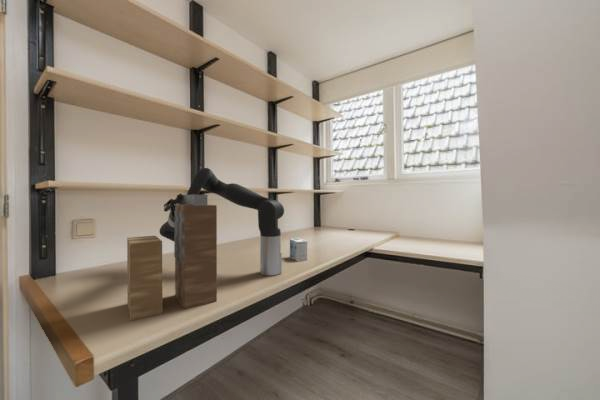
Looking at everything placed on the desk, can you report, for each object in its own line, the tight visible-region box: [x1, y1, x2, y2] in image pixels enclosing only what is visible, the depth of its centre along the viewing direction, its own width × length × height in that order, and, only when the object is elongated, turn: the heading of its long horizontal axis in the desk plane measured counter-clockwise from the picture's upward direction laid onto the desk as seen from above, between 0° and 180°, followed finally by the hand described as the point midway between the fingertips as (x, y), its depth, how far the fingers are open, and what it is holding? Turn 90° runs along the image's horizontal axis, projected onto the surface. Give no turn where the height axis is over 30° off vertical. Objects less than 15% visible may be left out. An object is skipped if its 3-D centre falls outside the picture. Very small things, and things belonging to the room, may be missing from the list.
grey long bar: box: [179, 194, 208, 206], centre depth 91 cm, size 22×4×4 cm, turn 37°
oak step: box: [126, 235, 163, 321], centre depth 80 cm, size 14×8×22 cm, turn 37°
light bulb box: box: [289, 237, 308, 261], centre depth 146 cm, size 11×7×11 cm, turn 24°
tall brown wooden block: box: [173, 204, 218, 310], centre depth 88 cm, size 14×11×32 cm
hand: (187, 195), depth 97 cm, fingers closed on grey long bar, 4 cm apart
